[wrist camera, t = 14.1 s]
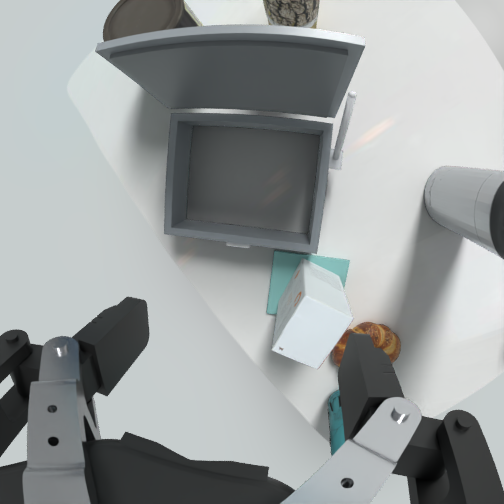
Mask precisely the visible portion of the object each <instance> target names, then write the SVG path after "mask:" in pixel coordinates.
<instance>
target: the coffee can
mask: <svg viewBox="0 0 504 504" xmlns="http://www.w3.org/2000/svg"><path fill="white" fill-rule="evenodd" d="M197 26H203V24H202V23H201V22H200V21H199V19H198V18H197V17H196V15H195V14H194V13H193V11H192V10H191V9H190V8H189V6H188V5H187V4H186V3H185V1H184V0H120V1H119V2H118V3H117V4H116V5H115V7H114V8H113V9H112V11H111V12H110V14H109V15H108V17H107V19H106V22H105V24H104V29H103V40H104V42H105V41H110V40H114V39H118V38H123V37H127V36H132V35H137V34H143V33H149V32H155V31H162V30H169V29H177V28H186V27H197Z"/></svg>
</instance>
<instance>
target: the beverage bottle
mask: <svg viewBox="0 0 504 504" xmlns="http://www.w3.org/2000/svg"><path fill="white" fill-rule="evenodd" d="M328 401H329V402H328V407H329V412H328V414H329V416H328V417H329V418H328V420H329V421H330V426H329V429H330V436H329V437H330V441H331V442H330V444H331V455H332V456H333V455H334V454H335V453H336V451H337V450H338V449H339V448H340V447H341V446H342V445H343V444H344V443H345V437H344V426H343V417H342V408H341V399H340V391H339V390H338V391H336V392H334V393H333V394H332V395H331V396H330V398H329V400H328Z"/></svg>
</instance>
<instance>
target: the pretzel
mask: <svg viewBox="0 0 504 504" xmlns="http://www.w3.org/2000/svg"><path fill="white" fill-rule="evenodd" d="M350 333H360V334H370V336H371V338H372V341H373V344H374V347H375V348H381V349H382V350H383V351H384V352H385V353H386V354H387V355H388V356H389V358H390V360H391V363H393V362H394V361H395V360H396V359H397V357H398V356H399V354H400V349H401V344H400V340H399V338H398V337H397V335H396V334H395V333H392V332H391V330H390V329H389V328H388V327H387V326H385V325H381V324H374V323H371V322H364V323H362V324H359V325H357V326H356V327H354V328H353V329H349V330H347V331H345V333H344V334H343V335H342V337H341V338H340V340H339V341H338V343H337V344H336V346H335V347H334V349H333V352H332V360H333V362H334V363H335V364H336V365H337V366H338V367H339V366H340V363H341V360H342V357H343V353H344V350H345V347H346V343H347V340H348V337H349V334H350Z"/></svg>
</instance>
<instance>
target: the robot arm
mask: <svg viewBox="0 0 504 504" xmlns="http://www.w3.org/2000/svg"><path fill="white" fill-rule="evenodd" d="M424 198H425V205H426V208H427V211H428V213H429V215H430V216H431V217H432V219H433V220H434V221H435V222H437V223H438V224H440V225H442V226H444V227H446V228H448V229H450V230H451V231H453V232H455V233H457V234H459V235H461V236H463V237H465V238H467V239H469V240H470V241H472V242H474V243H476V244H478V245H479V246H481V247H483V248H485V249H487V250H488V251H490V252H492V253H494V254H496V255H497V256H499V257H501V258H502V259H504V171H498V170H489V169H479V168H468V167H457V166H444V167H441V168H439V169H437V170H436V171H435V172H433V173H432V175H431V176H430V177H429V179H428V181H427V184H426V188H425V196H424ZM148 340H149V325H148V312H147V303H146V301H145V300H141V299H137V298H132V297H126V298H125V299H124V300H123V301H122V302H120V303H119V304H118V305H117V306H116V305H115V306H113V307H110V308H108V309H105V310H104V311H103V312H101V313H100V314H99V315H98V316H97V317H96V318H94V319H93V320H92V321H91V322H89V323H88V324H87V325H86V326H85V327H84V328H82V329H81V330H80V331H79V332H78V333H77V334H75V335H74V336H73V337H72V338H71V337H66V336H60V337H55V338H52V339H50V340H49V341H47V342H46V343H45V344H44V346H41V345H35V344H30V341H29V338H28V335H27V333H26V332H25V331H22V330H10V331H7V332H5V333H4V334H2V335H1V336H0V383H1V382H2V381H3V380H4V379H5V378H6V377H7V376H8V375H9V374H10V376H11V378H12V380H13V382H14V386H13V387H12V388H11V389H10V390H9V391H8V392H7V393H6V394H5V395H4V396H3V397H2V398H1V399H0V457H1V455H2V454H3V453H4V451H5V450H6V449H7V448H8V446H9V445H10V444H11V442H12V441H13V440H14V438H15V437H16V436H17V435H18V433H19V432H20V431H21V430H22V428H23V427H24V426H25V425H26V423H27V422H28V426H27V461H23V462H19V463H15V464H11V465H6V466H2V467H0V504H369V503H370V502H371V501H372V500H373V498H374V497H375V496H376V494H377V493H378V491H379V490H380V489H381V487H382V486H383V485H384V483H385V482H386V480H387V479H388V477H389V476H390V474H391V473H393V474H398V475H403V476H407V479H408V486H409V494H410V503H411V504H504V491H503V487H502V484H501V481H500V478H499V475H498V472H497V469H496V466H495V463H494V461H493V458H492V455H491V453H490V450H489V447H488V445H487V442H486V440H485V437H484V435H483V433H482V430H481V428H480V425H479V423H478V421H477V420H476V418H475V417H474V416H472V415H471V414H470V413H468V412H466V411H463V410H453V411H450V412H449V413H448V414H447V415H446V416H445V418H444V419H443V420H438V419H433V418H428V417H424V416H422V415H421V411H420V409H419V408H418V406H417V405H416V404H415V403H413V402H412V401H410V400H408V399H405V398H404V395H403V393H402V390H401V387H400V384H399V382H398V379H397V376H396V374H395V371H394V368H393V367H392V363H391V360H390V358H389V356H388V355H387V354H386V353H385V352H384V351H383V350H382V349H381V348H375V347H374V344H373V341H372V338H371V336H370V334H360V333H350V334H349V337H348V340H347V343H346V347H345V350H344V353H343V357H342V360H341V363H340V366H339V372H338V383H339V391H340V399H341V408H342V417H343V426H344V437H345V443H344V444H343V445H342V446H341V447H340V448H339V449H338V450H337V451H336V453H335V454H334V455H333V456H332V457H331V458H330V459H329V460H328V461H327V462H326V463H325V464H324V465H323V466H322V467H321V468H320V469H319V470H318V471H317V472H316V473H315V474H313V475H312V476H311V478H309V479H308V480H307V481H306V482H305V483H304V484H303V485H301V486H300V487H299V488H298V489H297V490H296V491H295V490H294V489H292V488H291V487H289V486H288V485H286V484H284V483H282V482H280V481H278V480H276V479H273V478H270V477H268V470H269V467H265V466H258V465H251V464H245V463H239V462H234V461H195V460H189V459H187V458H185V457H183V456H181V455H179V454H177V453H175V452H174V451H172V450H170V449H168V448H166V447H164V446H163V445H161V444H159V443H157V442H154V441H151V440H148V439H145V438H142V437H139V436H136V435H133V434H131V433H128V432H125V433H124V435H123V437H122V438H121V440H118V439H101V436H100V431H99V426H98V420H97V414H96V408H95V401H94V398H93V395H94V394H95V393H96V392H98V393H100V394H103V395H105V396H108V395H109V393H110V392H111V391H112V389H113V388H114V387H115V386H116V384H117V383H118V382H119V381H120V379H121V378H122V377H123V375H124V374H125V373H126V371H127V370H128V369H129V368H130V366H131V365H132V364H133V362H134V361H135V360H136V359H137V357H138V356H139V355H140V354H141V352H142V351H143V350H144V349H145V347H146V346H147V343H148Z"/></svg>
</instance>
